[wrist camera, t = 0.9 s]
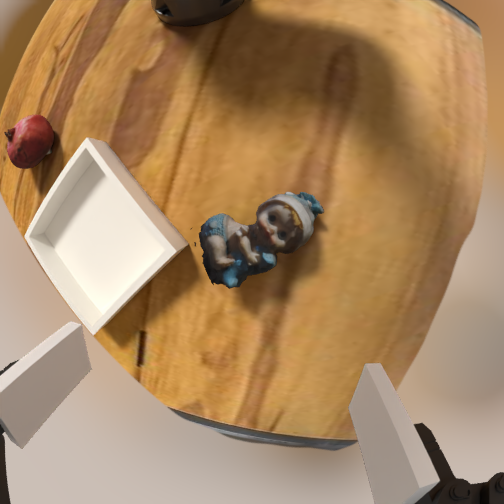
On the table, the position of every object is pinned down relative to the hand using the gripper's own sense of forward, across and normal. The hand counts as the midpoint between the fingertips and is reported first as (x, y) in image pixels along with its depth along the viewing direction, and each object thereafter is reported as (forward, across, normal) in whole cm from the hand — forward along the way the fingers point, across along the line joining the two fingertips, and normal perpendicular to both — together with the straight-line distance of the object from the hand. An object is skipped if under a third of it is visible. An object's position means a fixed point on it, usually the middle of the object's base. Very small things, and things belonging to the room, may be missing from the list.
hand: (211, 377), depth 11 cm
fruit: (+26, -38, +15) cm, 48 cm away
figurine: (+26, +2, +3) cm, 26 cm away
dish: (+25, -22, 0) cm, 34 cm away
